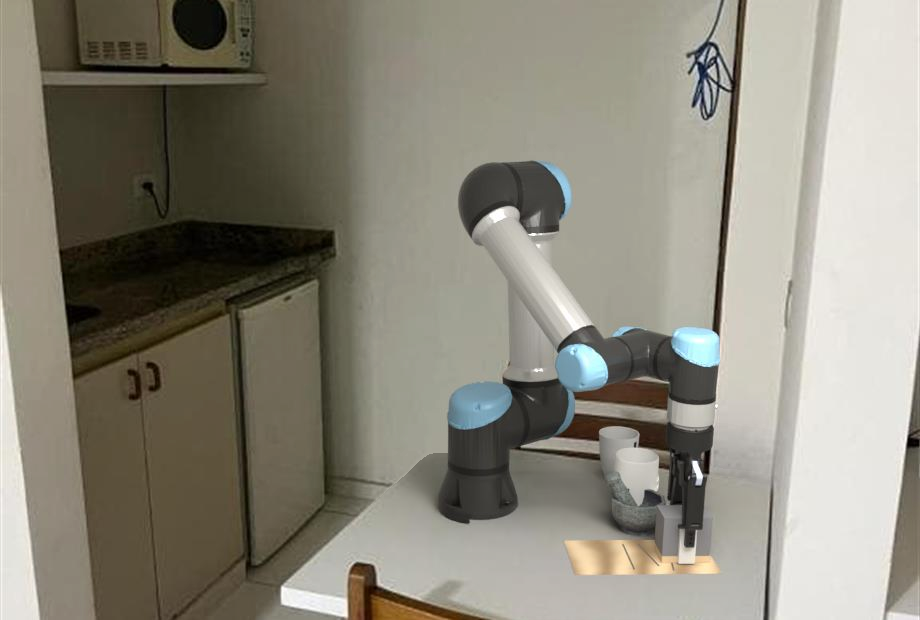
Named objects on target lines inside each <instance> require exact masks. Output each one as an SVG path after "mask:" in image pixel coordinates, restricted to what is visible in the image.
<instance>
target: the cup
mask: <svg viewBox="0 0 920 620" xmlns="http://www.w3.org/2000/svg"><path fill="white" fill-rule="evenodd" d="M598 439H599V440H598V443H599V445H598V447H599V451H598V452H599V457H600V464H601V466H600V467H601V470H602V473H603V477H604V478H605V477H606V476H607V474H609V473H611V472H614V467H615V454H616V452H617V451H618V450H620V449H623V448H639V443H640V433H639V431H638V430H637V429H633V428H631V427H625V426H618V425H617V426H616V425H613V426H612V425H611V426H605V427H603V428H600V429H599V431H598Z"/></svg>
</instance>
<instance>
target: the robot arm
mask: <svg viewBox="0 0 920 620" xmlns="http://www.w3.org/2000/svg"><path fill="white" fill-rule="evenodd" d="M457 195H458V196H457V210H458V213H459V218H460V220H461V223H462V226H463V228H464V230H465V231H466V233H467V235H468V236H469V237H470V239H471V241H472V242H473V243H474V244H475V245H476V246H478V247H483V248H484V249H485V250H486V252H487V254H488V255H489V256H490V257H491V258H492V260H493V262H494V263H495V265H496V267H498V269H499V270H500V272H501V273H502V275H503V277H505V279H506V280H507V305H508V310H507V311H508V313H507V314H508V343H509V345H508V346H509V349H508V350H509V365H508V367H506V369H504V371H503V372H502V374H501V375H502V383H501V382H497V381H484V382H479V381H478V382H477V381H476V382H472V383H468V384H466V385H463V386H461V387H459V388H458V389H456V390H454V391H453V392H452V393H451V395H450V397H449V400H448V411H447V415H446V417H447V418H446V421H447V470H446V473H445V476H444V479H443V481H442V484H441V487H440V489H439V492H438V496H437V497H438V499H437V505H438V507H437V509H438V511H439V512H440V513H441V515H443V516H444V517H446V518H448V519H450V520H452V521H455V522H459V523H465V524H470V522H471V521H489V520H495V519H501V518H504V517H506V516H509V515H510V514H513V513H514V512H515V511H516V510H517V508H518V506H519V503H518V501H519V498H518V493H517V490H516V486H515V482H514V481H513V477H512V474H511V471H510V457H511V456H510V455H511V453H510V452H511V450H512V449H516V448H519V447H523V446H526V445H529V444H533V443H536V442H539V441H545V440H546V441H547V440H549V439H551V438H553V437H555V436H557V435H560V434H562V433H563V432H565V431H566V430H567V428H568V427H570V425H571V424H572V422H573V419H574V416H575V413H576V398H575V394H574V392H575V393H582V392H587V391H596V390H599V389H601V388H603V387H607V386H610V385H614V384H617V383H618V384H619V383H623V382H628V381H632V380H636V379H639V378H641V377H643V378H644V377H646V378H647V377H648V378H651V379H655V380H659V381H662V382H666V383H668V395H667V406H666V407H667V408H666V409H667V410H666V420H668V421H667V423H666V429H665V430H666V431H665V443H666V445H667V446H668V447H669V468H668V484H667V496H666V499H667V500H668V501H669V505H682V524H678V528H679V529H680V530H679V545H678V560H677V562H678V564H695V554H696V540H697V530H702V528H703V514H704V506H705V497H706V487H707V486H706V485H707V482H708V474H707V472H702V471H703V470H704V460H703V459H702V454H704V453H705V452H708V451H710V450H711V449H712V448H713V445H714V433H715V426H713V424H714V423H715V418H716V417H715V416H716V415H715V414H716V412H715V411H716V410H717V409H718V408H719V404H718V403H717V402H716V400H717V384H718V376H719V370H720V369H719V367H720V362H721V356H720V336H719V335H718V334H717V332H715V331H713V330H712V329H708V328H704V327H701V328H700V327H695V326H686V327H685V326H684V327H679V328H677V329H675V330H674V331H673V332H672V334H671V335H672V336H671V335H667V334H664V333H660V332H655V331H652V330H648V329H646V328H643V327H640V326H639V327H634V326H633V327H632V326H629V325H628V326H622V327H619V328H617V331H616V332H613V334H611V337H607V338H606V337H605V338H604V336H603V335H602V334H601V332H600V331H599V330H598V328H597V327H596V326H595V324H594V323H593V322H592V321H591V318H590V317H589V316H588V315H587V313H586V312H585V310H584V309H583V308H582V306H581V305H580V304H579V302H578V301H577V299H575V297H574V295H573V294H572V293H571V291H570V290H569V289H568V287H567V286H566V284H565V283H564V282H563V280H562V279H561V278H560V276H559V274H558V273H557V272H556V271H555V269H554V268H553V254H552V253H553V247H552V245H553V243H552V242H553V241H554V239H555V238H556V237H557V235H559V233H560V221H561V220H562V219H564V218H565V217H566V216H567V214H568V211H570V209H571V207H572V200H573V199H572V197H573V196H572V189H571V184H570V182H569V180H568V178H567V176H566V175H565V173H564V172H562V170H561V168H560V167H558V166H557V165H556V164H554V163H551V162H549V161H540V160H539V161H538V160H524V161H523V160H522V161H504V162H495V161H493V162H486V163H483V164H480V165H479V166H476V167H475V168H473V169H472V170H471V171H470V172H469V173H467V175H466V176H465V177H464V179H463V181H462V183H461V185H460V187H459V191H458V194H457ZM554 350H556V353H557V355H556V357H555V354H554V353H555V351H554ZM470 520H471V521H470Z"/></svg>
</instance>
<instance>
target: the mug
mask: <svg viewBox="0 0 920 620" xmlns="http://www.w3.org/2000/svg"><path fill="white" fill-rule="evenodd" d="M659 461H660V457H659V454H657V452H654V451H652V450H650V449H647V448H641V447H638V448H623V449H620V450H618V451H617V452H616V454H615V467H614V471H617V472H619V473H620V476H621V480H622V481H623V483H624V485H625V486H626V488H628V489H629V492H630V494H631V496H632V497H633V499H634V500H635V502H636V503H637V505H638V506H640V505H641V504H642V502H643V498H644V490H647V489H651V490H654V491H656V492H658V491H659V485H660V484H659V482H660V476H659V467H660V465H659V464H660V463H659Z"/></svg>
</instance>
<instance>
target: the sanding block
mask: <svg viewBox="0 0 920 620" xmlns="http://www.w3.org/2000/svg"><path fill="white" fill-rule="evenodd" d="M713 520H714V518H713V516H712V514H711V513H710V511H708V509H707V508H706V506H705V505H704V514H703V528H702V530H697V540H696V554H695V563H709V560H710V555H711V545H712V543H711V542H712V535H713V534H712V531H713ZM678 524H682V505H670V504H668V505H667V504H666V505H657V512H656V527H654V529H655V530H654V540H655V543H654V550H655V551H656V553H657V555H658V557H659V559H660V561H661V563H678V562H677V560H678V545H679V530H680V529H679V528H678Z"/></svg>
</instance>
